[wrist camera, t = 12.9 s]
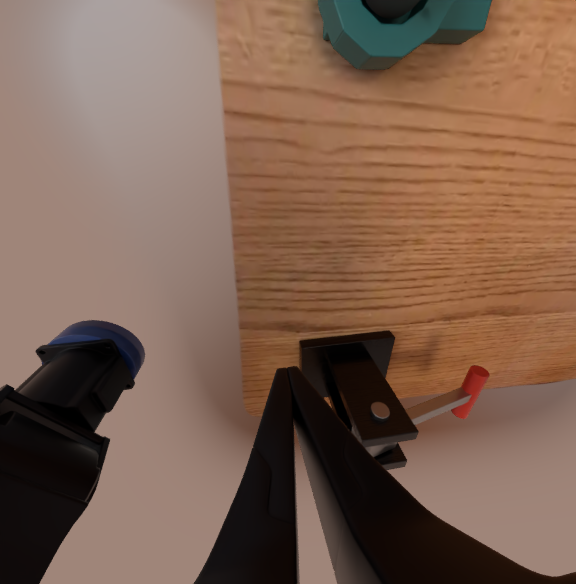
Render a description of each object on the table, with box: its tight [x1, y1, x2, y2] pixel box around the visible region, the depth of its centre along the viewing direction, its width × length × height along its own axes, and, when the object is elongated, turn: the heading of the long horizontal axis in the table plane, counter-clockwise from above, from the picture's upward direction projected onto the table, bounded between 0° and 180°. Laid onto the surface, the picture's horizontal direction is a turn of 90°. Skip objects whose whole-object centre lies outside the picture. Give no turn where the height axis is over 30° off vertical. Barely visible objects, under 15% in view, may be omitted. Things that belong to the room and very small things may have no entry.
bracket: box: [300, 331, 418, 470], centre depth 22 cm, size 10×8×10 cm
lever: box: [351, 365, 489, 457], centre depth 21 cm, size 13×6×2 cm, turn 91°
